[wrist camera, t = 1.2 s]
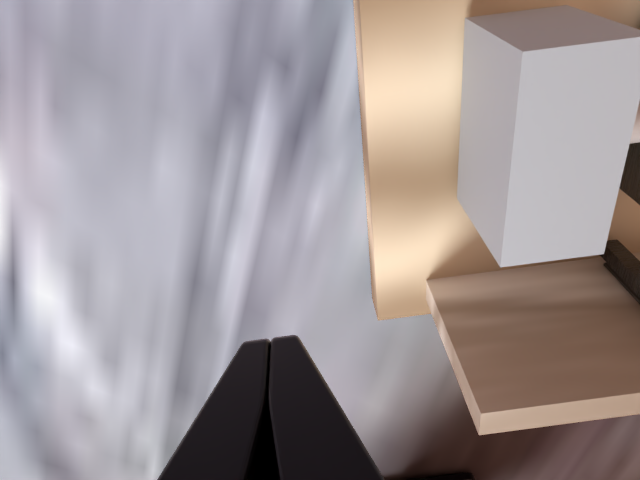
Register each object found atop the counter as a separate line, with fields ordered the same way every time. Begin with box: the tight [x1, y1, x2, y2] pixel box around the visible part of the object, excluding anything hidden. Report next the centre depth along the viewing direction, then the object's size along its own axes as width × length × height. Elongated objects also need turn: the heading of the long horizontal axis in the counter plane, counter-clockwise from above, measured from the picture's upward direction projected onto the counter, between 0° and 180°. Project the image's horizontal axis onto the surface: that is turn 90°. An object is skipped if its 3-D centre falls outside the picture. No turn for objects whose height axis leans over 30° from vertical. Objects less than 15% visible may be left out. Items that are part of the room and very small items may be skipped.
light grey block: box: [457, 5, 640, 268], centre depth 15 cm, size 6×5×4 cm
